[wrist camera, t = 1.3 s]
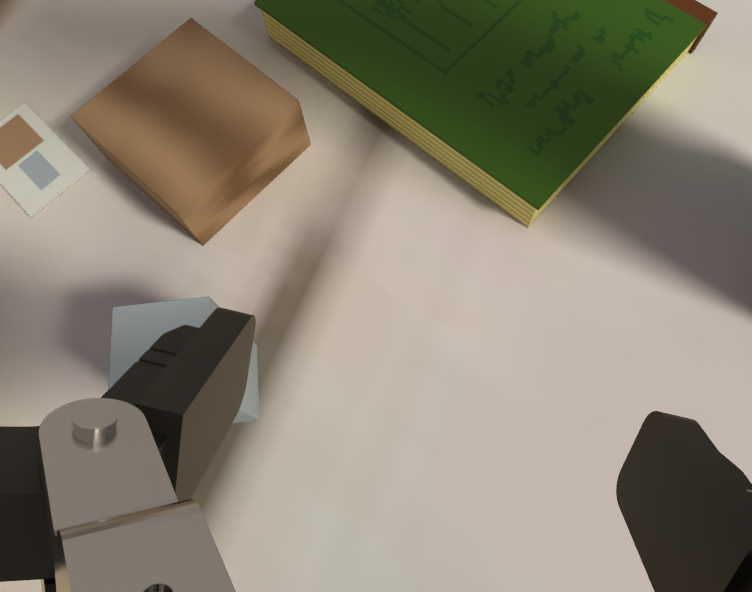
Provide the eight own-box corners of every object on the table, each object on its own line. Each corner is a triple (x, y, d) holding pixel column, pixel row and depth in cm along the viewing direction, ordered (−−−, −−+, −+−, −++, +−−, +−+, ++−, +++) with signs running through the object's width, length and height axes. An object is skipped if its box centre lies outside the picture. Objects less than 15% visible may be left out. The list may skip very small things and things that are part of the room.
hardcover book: (691, 54, 41) (717, 13, 38) (526, 236, 37) (539, 208, 34) (423, -103, 48) (425, -152, 44) (259, 37, 44) (246, -4, 40)
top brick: (256, 345, 35) (209, 296, 27) (259, 420, 34) (208, 393, 26) (183, 353, 36) (112, 307, 27) (182, 428, 34) (107, 404, 26)
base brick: (214, 71, 43) (190, 17, 38) (311, 147, 40) (298, 100, 36) (109, 161, 41) (70, 116, 36) (204, 247, 38) (175, 211, 33)
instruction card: (26, 104, 42) (23, 101, 42) (90, 169, 40) (88, 166, 40) (-32, 148, 41) (-35, 145, 41) (31, 217, 39) (28, 215, 39)
